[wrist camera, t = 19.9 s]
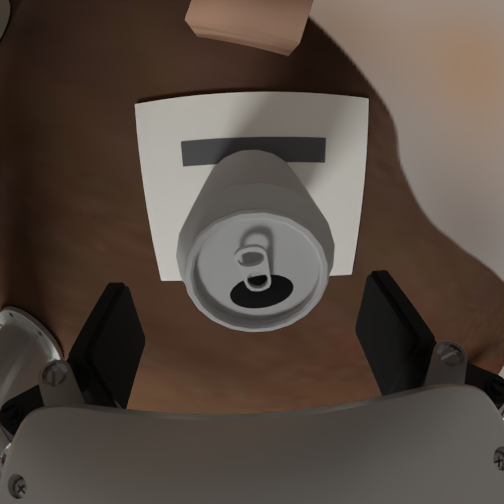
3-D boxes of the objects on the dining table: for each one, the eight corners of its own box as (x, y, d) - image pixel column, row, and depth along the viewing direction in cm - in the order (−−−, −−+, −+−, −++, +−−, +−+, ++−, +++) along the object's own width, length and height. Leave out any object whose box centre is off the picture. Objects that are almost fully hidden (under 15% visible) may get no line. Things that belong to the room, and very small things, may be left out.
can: (219, 245, 25) (201, 354, 14) (193, 161, 21) (140, 222, 10) (306, 226, 24) (348, 327, 13) (289, 138, 20) (336, 176, 10)
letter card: (350, 272, 27) (351, 274, 26) (162, 278, 27) (161, 281, 26) (366, 98, 19) (368, 98, 19) (136, 104, 19) (134, 104, 19)
